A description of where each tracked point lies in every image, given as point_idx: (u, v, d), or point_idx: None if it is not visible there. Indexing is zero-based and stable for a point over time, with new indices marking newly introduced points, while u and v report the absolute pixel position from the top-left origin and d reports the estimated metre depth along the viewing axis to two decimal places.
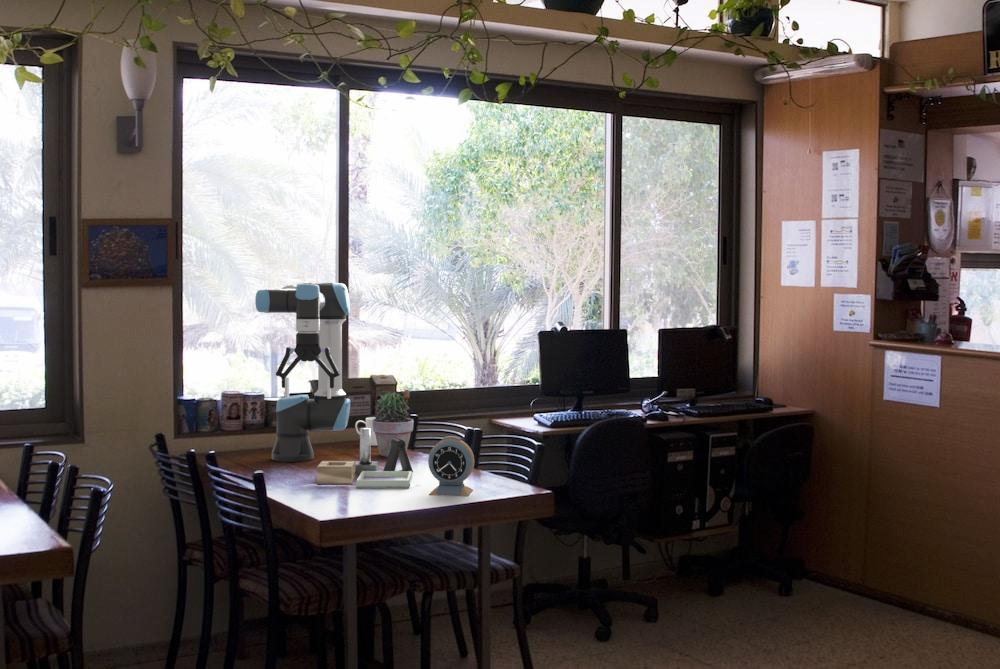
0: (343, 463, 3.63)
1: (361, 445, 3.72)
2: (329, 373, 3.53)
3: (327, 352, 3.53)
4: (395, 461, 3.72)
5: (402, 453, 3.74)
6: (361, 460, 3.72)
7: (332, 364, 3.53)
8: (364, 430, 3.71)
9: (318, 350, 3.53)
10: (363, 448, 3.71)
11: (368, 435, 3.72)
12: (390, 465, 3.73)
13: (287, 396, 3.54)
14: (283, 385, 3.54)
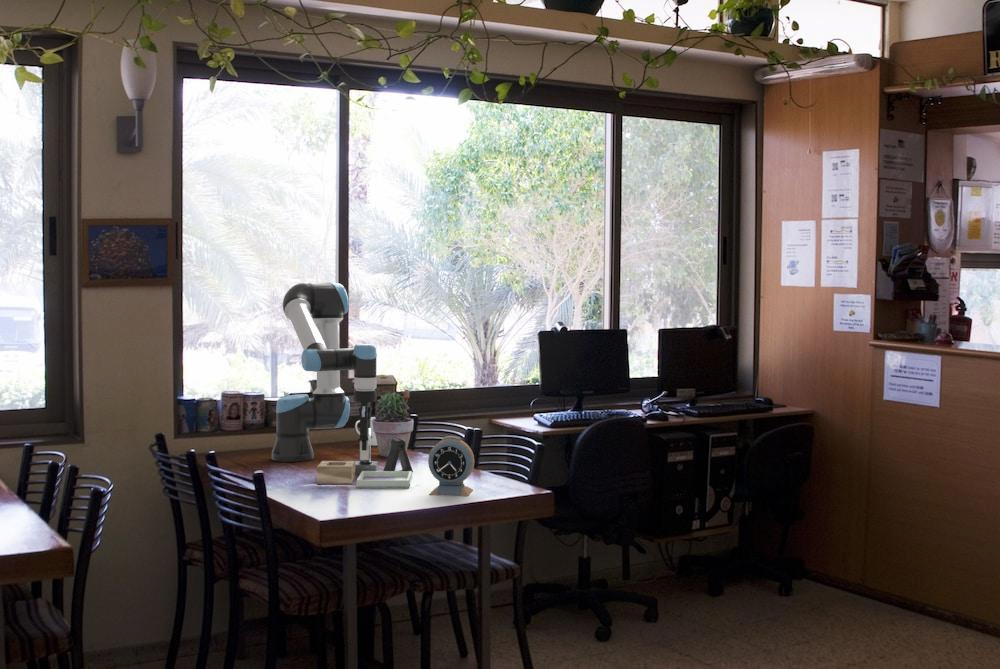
0: (343, 463, 3.63)
1: None
2: None
3: (359, 415, 3.67)
4: (395, 461, 3.72)
5: (402, 453, 3.74)
6: (361, 460, 3.72)
7: (360, 427, 3.68)
8: None
9: (360, 408, 3.69)
10: None
11: (368, 435, 3.72)
12: (390, 465, 3.73)
13: None
14: None
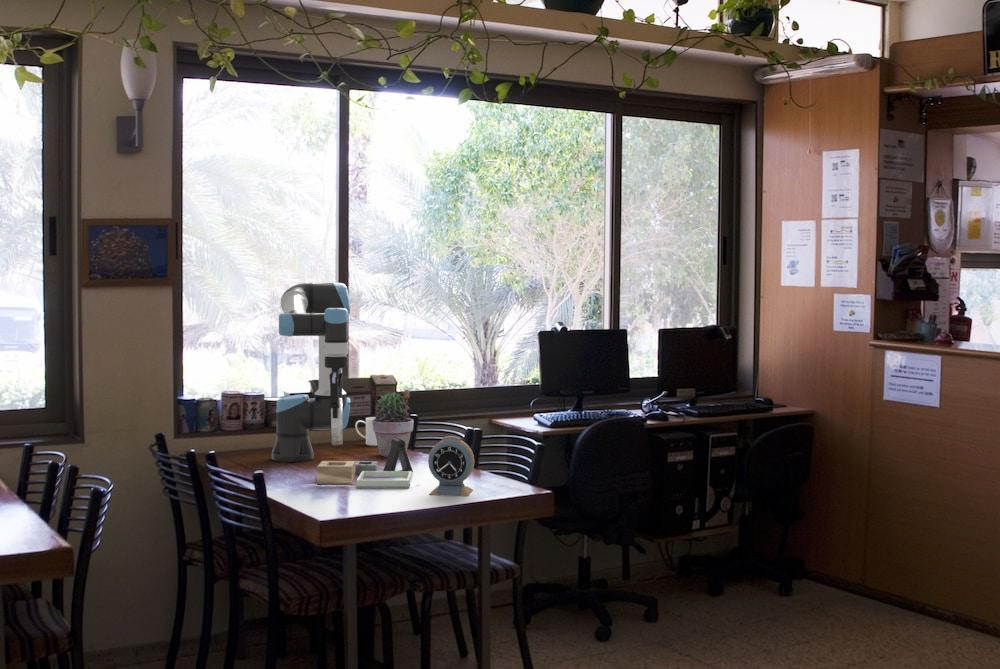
0: (343, 463, 3.63)
1: None
2: None
3: None
4: (395, 461, 3.72)
5: (402, 453, 3.74)
6: (332, 431, 3.58)
7: None
8: None
9: (331, 374, 3.55)
10: None
11: (339, 405, 3.58)
12: (390, 465, 3.73)
13: None
14: None
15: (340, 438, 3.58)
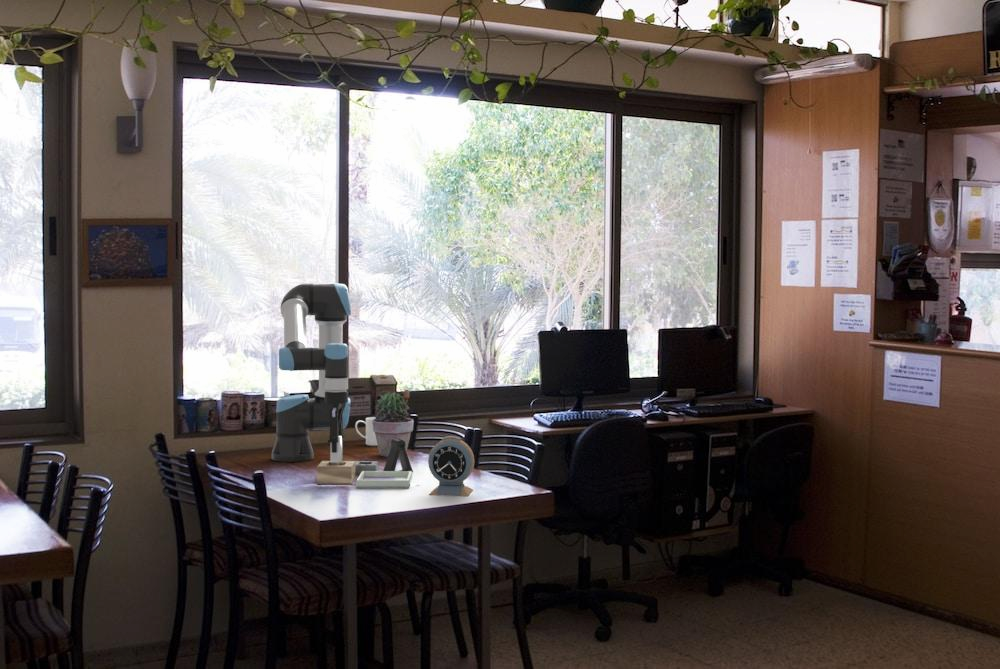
0: (343, 463, 3.63)
1: None
2: None
3: None
4: (395, 461, 3.72)
5: (402, 453, 3.74)
6: None
7: (330, 428, 3.53)
8: None
9: (331, 409, 3.56)
10: None
11: (339, 443, 3.59)
12: (390, 465, 3.73)
13: None
14: None
15: None
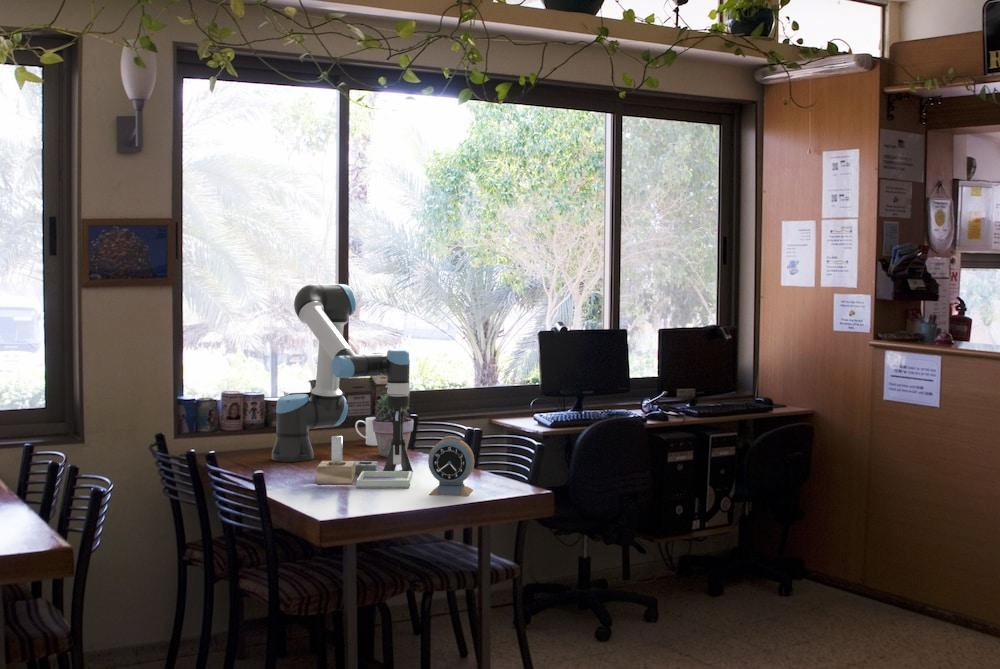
0: (343, 463, 3.63)
1: (332, 453, 3.59)
2: None
3: (393, 419, 3.69)
4: None
5: (402, 453, 3.74)
6: None
7: (393, 431, 3.69)
8: (335, 438, 3.58)
9: (394, 413, 3.71)
10: (334, 456, 3.58)
11: (340, 443, 3.59)
12: (390, 465, 3.73)
13: None
14: None
15: None
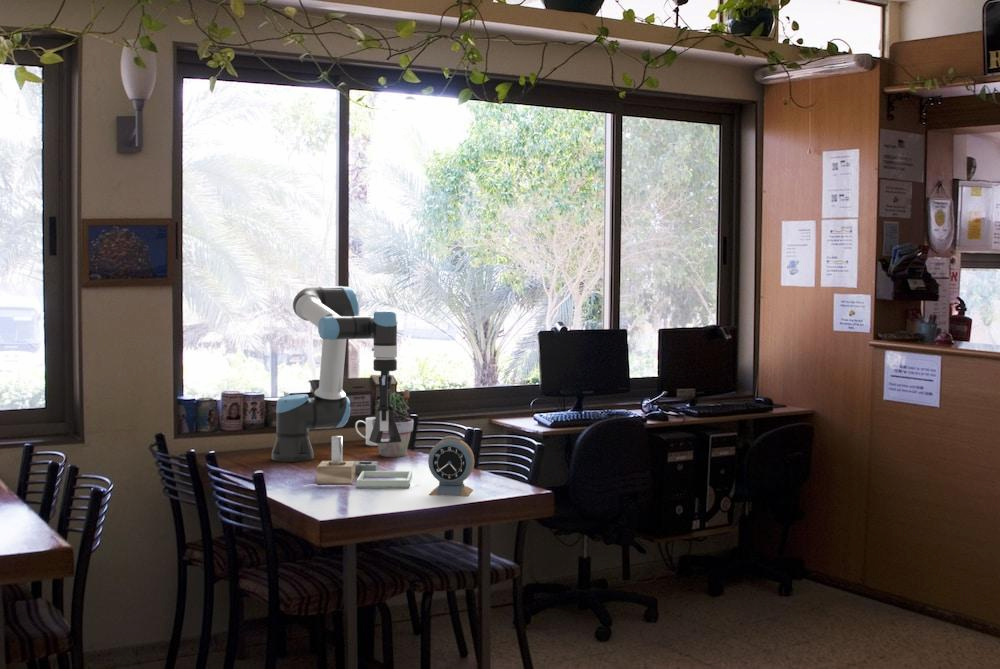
0: (343, 463, 3.63)
1: (332, 454, 3.59)
2: (380, 405, 3.53)
3: (379, 383, 3.51)
4: None
5: (389, 419, 3.56)
6: None
7: None
8: (335, 438, 3.58)
9: (380, 377, 3.53)
10: (334, 456, 3.58)
11: (340, 443, 3.59)
12: (376, 431, 3.55)
13: None
14: None
15: None
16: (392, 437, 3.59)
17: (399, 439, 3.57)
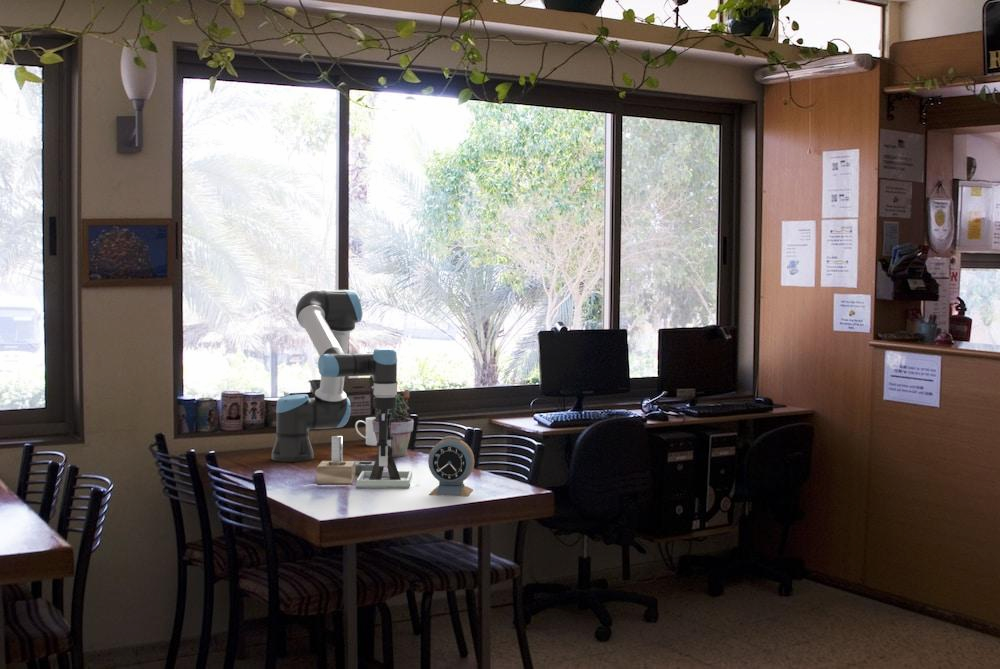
0: (343, 463, 3.63)
1: (332, 453, 3.59)
2: None
3: (379, 419, 3.51)
4: (381, 468, 3.55)
5: (389, 459, 3.57)
6: None
7: (379, 432, 3.50)
8: (335, 438, 3.58)
9: None
10: (334, 456, 3.58)
11: (340, 443, 3.59)
12: (376, 472, 3.56)
13: None
14: None
15: None
16: (392, 477, 3.60)
17: (399, 479, 3.58)
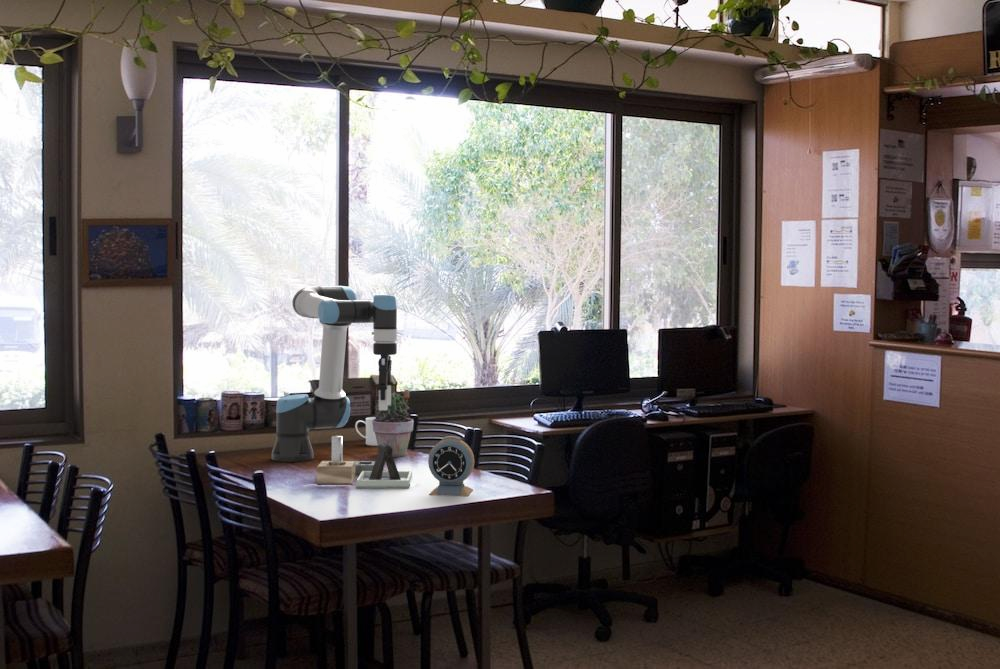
0: (343, 463, 3.63)
1: (332, 454, 3.59)
2: (379, 384, 3.50)
3: (379, 363, 3.50)
4: (382, 468, 3.55)
5: (389, 459, 3.57)
6: None
7: (379, 375, 3.49)
8: (336, 438, 3.58)
9: None
10: (334, 456, 3.58)
11: (340, 443, 3.59)
12: (376, 472, 3.56)
13: None
14: None
15: None
16: (392, 477, 3.60)
17: (399, 479, 3.58)
